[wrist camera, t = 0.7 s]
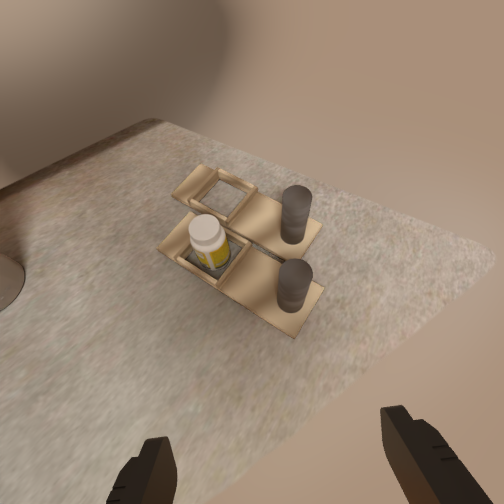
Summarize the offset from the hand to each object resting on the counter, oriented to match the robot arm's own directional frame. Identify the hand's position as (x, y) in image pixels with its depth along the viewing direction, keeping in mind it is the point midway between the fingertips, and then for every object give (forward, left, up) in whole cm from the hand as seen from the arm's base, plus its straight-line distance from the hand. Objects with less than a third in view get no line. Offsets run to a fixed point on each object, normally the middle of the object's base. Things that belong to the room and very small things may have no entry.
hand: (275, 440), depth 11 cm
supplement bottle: (-18, +13, -26) cm, 34 cm away
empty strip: (-19, +22, -26) cm, 39 cm away
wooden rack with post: (-14, +13, -26) cm, 32 cm away
